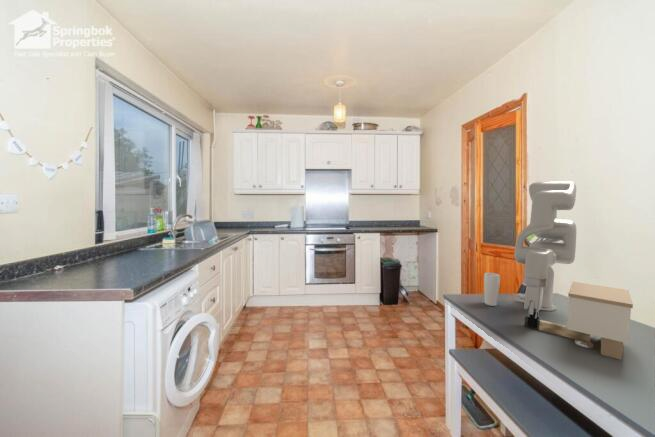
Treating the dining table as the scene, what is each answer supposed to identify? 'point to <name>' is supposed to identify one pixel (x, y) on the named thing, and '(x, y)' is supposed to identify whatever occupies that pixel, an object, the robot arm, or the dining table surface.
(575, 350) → the dining table surface
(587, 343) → the steel disc
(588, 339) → the two-tone wooden stick
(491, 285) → the drinking glass
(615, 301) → the cabinet
